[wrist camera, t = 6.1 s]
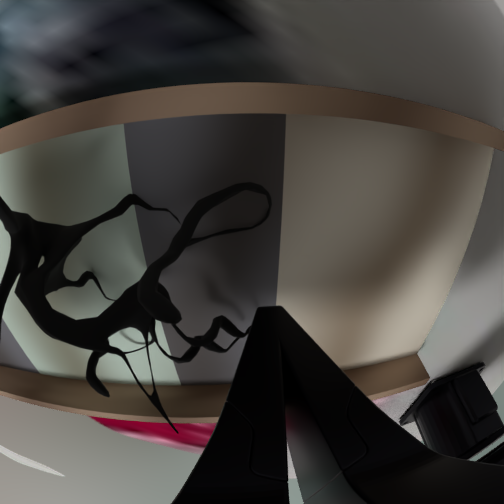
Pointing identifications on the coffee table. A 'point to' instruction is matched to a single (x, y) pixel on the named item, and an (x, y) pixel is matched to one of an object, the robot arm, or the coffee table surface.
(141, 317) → the creature
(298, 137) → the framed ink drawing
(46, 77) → the coffee table surface
